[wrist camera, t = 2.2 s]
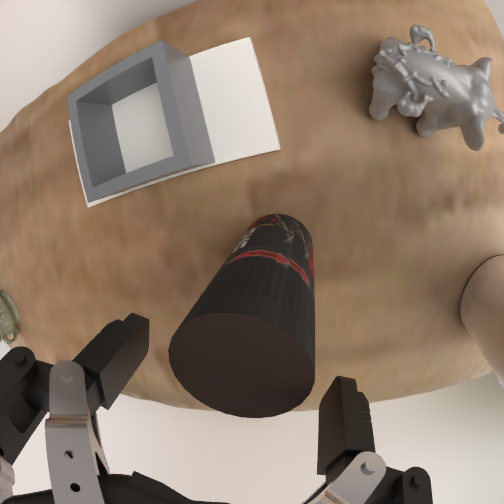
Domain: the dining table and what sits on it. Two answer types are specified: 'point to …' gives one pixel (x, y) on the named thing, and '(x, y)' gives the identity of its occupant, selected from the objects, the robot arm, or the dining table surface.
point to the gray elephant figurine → (433, 88)
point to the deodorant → (253, 326)
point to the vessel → (8, 318)
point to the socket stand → (168, 117)
